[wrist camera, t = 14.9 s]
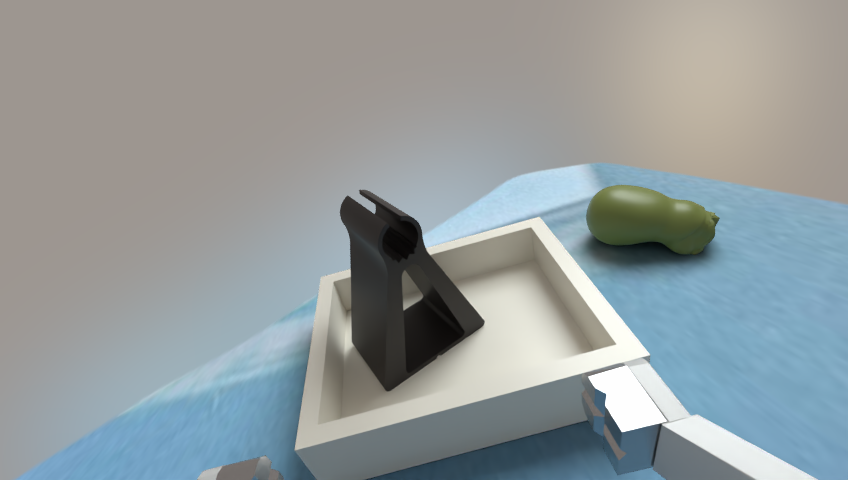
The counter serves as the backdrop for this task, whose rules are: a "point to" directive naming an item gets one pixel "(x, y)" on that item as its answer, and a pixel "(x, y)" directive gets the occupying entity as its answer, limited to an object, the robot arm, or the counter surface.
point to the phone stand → (399, 294)
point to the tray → (463, 360)
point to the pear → (649, 219)
